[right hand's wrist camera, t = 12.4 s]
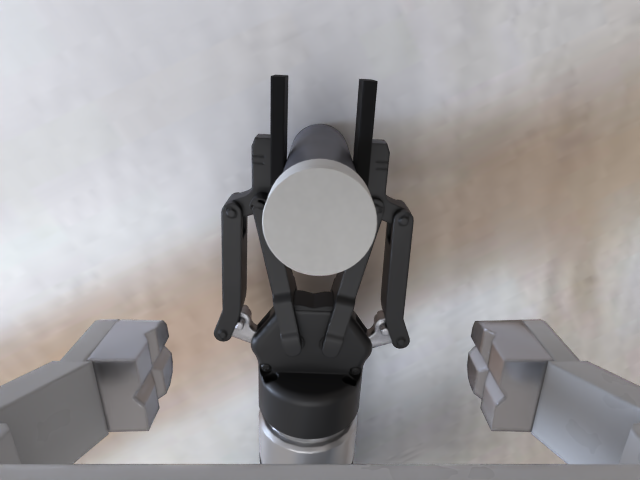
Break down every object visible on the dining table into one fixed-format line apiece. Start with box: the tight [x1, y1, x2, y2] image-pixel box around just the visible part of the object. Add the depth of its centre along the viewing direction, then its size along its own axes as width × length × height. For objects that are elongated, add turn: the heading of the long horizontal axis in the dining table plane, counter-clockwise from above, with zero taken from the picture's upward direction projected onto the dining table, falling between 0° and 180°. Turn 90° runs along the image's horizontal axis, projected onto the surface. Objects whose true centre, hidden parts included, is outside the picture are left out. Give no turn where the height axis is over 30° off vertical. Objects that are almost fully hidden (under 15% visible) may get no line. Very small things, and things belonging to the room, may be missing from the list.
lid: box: [262, 159, 377, 276], centre depth 19 cm, size 5×5×2 cm
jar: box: [283, 124, 356, 172], centre depth 26 cm, size 4×4×15 cm
